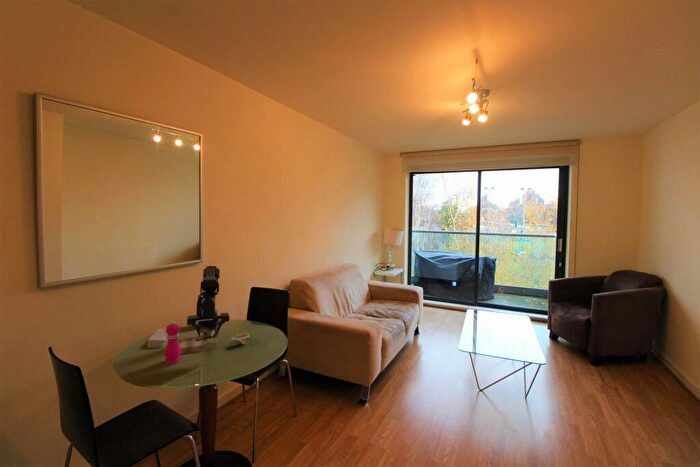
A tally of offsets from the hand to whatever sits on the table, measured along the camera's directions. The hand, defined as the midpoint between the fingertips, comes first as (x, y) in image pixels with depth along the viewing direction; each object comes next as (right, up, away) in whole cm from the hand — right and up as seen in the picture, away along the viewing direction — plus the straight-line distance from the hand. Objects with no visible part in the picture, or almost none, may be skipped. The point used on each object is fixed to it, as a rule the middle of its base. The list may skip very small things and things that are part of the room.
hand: (208, 335), depth 157 cm
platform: (+9, -12, +20) cm, 25 cm away
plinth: (-15, -10, +12) cm, 22 cm away
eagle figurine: (-1, -2, -1) cm, 2 cm away
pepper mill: (-16, -12, -3) cm, 20 cm away
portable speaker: (-22, -8, +44) cm, 50 cm away
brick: (-34, -9, +18) cm, 40 cm away
